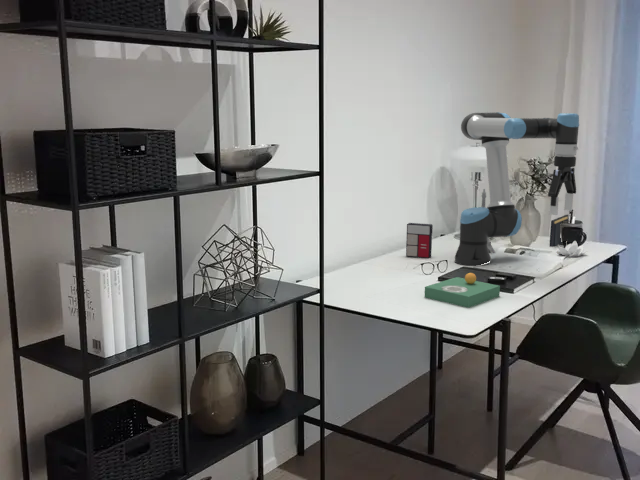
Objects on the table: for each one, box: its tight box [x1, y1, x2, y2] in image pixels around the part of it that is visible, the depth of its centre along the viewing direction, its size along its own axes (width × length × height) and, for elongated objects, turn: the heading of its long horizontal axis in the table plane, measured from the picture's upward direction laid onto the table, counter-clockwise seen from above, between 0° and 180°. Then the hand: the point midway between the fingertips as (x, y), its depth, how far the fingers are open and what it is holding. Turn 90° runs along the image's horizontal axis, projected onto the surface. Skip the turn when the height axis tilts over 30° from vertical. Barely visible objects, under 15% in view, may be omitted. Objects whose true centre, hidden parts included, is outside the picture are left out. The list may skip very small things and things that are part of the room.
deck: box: [424, 276, 501, 308], centre depth 235 cm, size 18×20×4 cm
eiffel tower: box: [480, 188, 496, 254], centre depth 306 cm, size 13×13×30 cm
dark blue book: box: [549, 214, 569, 248], centre depth 319 cm, size 20×2×15 cm, turn 139°
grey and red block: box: [405, 222, 433, 259], centre depth 299 cm, size 11×4×15 cm, turn 67°
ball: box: [464, 272, 477, 284], centre depth 238 cm, size 4×4×4 cm
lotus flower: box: [555, 240, 587, 258], centre depth 294 cm, size 14×15×9 cm
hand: (560, 212), depth 249 cm, fingers open, 13 cm apart
